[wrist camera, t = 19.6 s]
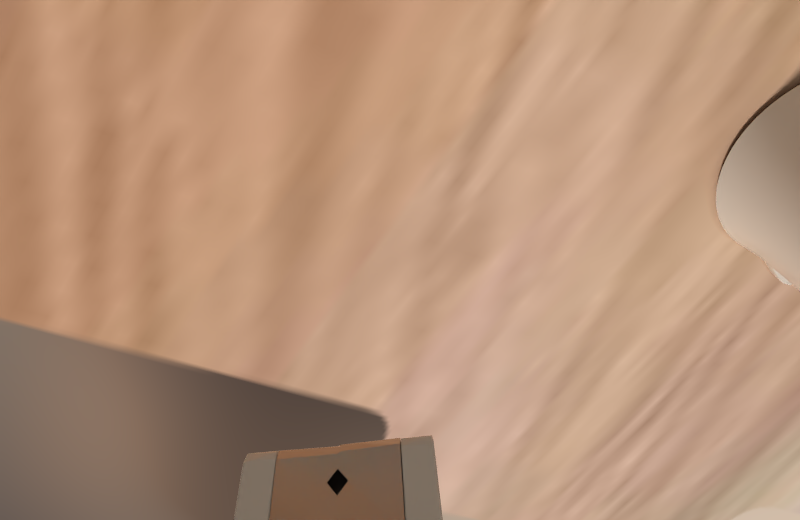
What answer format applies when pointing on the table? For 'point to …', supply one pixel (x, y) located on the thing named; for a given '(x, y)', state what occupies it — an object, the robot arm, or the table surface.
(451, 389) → the table surface
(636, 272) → the table surface
